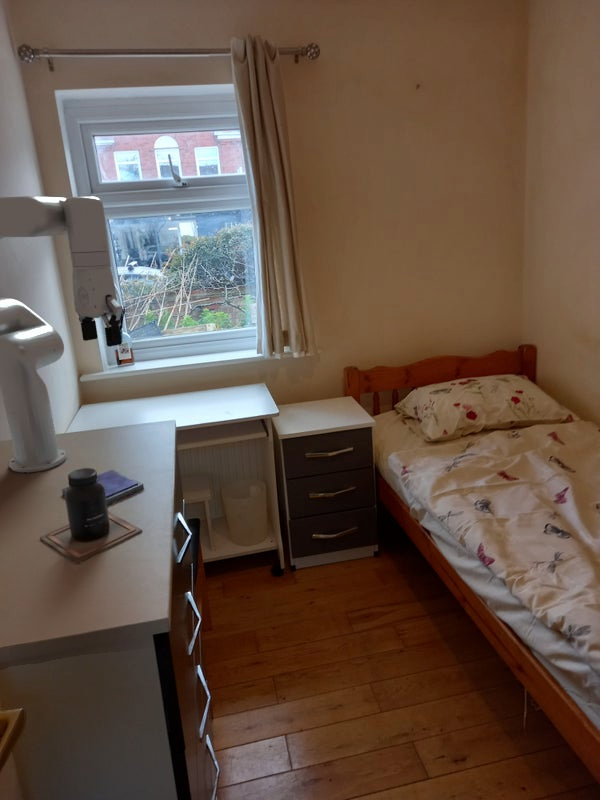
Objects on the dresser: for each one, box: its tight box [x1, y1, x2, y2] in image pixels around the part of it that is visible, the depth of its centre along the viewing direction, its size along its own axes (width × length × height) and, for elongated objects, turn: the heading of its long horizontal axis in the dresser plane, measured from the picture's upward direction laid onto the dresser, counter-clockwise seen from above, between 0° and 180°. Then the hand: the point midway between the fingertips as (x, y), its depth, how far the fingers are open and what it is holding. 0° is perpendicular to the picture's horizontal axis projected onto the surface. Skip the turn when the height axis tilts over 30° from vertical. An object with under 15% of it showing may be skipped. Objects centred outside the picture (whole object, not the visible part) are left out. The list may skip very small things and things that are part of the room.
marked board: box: [39, 510, 143, 565], centre depth 104 cm, size 13×13×1 cm
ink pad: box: [61, 469, 145, 506], centre depth 120 cm, size 12×12×2 cm
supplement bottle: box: [64, 467, 110, 542], centre depth 102 cm, size 7×7×12 cm
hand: (102, 342), depth 121 cm, fingers open, 9 cm apart
